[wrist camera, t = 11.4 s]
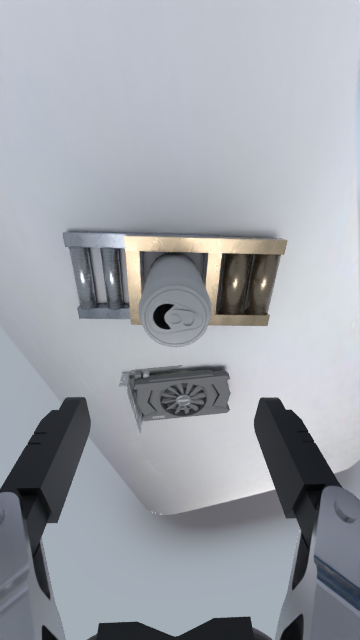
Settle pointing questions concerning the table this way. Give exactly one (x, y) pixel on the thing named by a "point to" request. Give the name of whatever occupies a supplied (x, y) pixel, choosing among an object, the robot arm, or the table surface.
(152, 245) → the frame
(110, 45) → the table surface
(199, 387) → the graphics card
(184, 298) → the beverage can
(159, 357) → the table surface
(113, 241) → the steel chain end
